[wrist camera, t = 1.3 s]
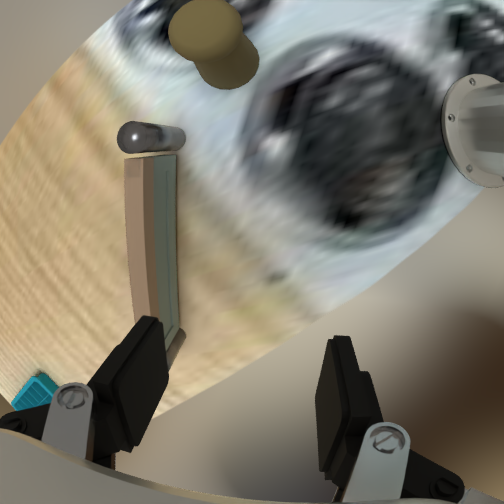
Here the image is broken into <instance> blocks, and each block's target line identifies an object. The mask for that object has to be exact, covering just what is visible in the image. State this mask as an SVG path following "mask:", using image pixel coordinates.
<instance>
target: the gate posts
mask: <svg viewBox="0 0 504 504" xmlns="http://www.w3.org/2000/svg"><path fill="white" fill-rule="evenodd" d="M185 140H186V136H185V133H184V131H183V130H182V129H180V128H178V127H172V126H165V125H158V124H151V123H143V122H135V121H130V122H127V123H125V124H124V125H123V126H122V127H121V128H120V130H119V132H118V135H117V143H118V146H119V148H120V149H121V150H122V151H123V152H125V153H128V154H133V153H145V152H159V151H175V150H179V149H180V148H182V147H183V145H184V144H185ZM185 338H186V334H185V332H184V331H183V330H182V329H181V328H179V329H178V331H177V333H176V335H175V336H174V338H173V340H172V342H171V344H170V345H169V347H168V349H167V351H166V356H167V365H168V372H169V370H170V368H171V366H172V364H173V362H174V360H175V358H176V356H177V354H178V352H179V350H180V348H181V346H182V344H183V342H184V340H185Z"/></svg>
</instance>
